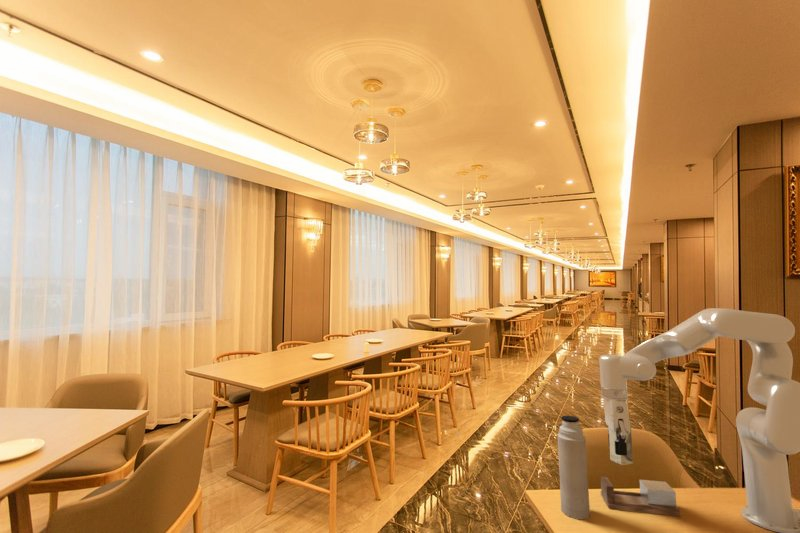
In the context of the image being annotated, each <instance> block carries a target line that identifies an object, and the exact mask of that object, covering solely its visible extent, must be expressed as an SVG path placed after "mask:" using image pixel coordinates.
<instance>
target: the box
mask: <svg viewBox="0 0 800 533" xmlns="http://www.w3.org/2000/svg"><path fill="white" fill-rule="evenodd" d="M629 422H630V421H629ZM616 430H617V431H620V429H616ZM608 434H609V440H608V442H609V441H610V446H609V458H610V460H609V461H612V462H613V463H616V464H619V465H621V466H625V465H632V464H634V458H633V456H634V455H633V454H634V453H633V440H632V439H633V438H632V422H630V433H627V432H626V434H627V436H626V444H627V455H616V453H615V441H616V439H615V433H614V431H613V430H612V429H611V428H610V427H609V433H608ZM617 434H618V436H619V435H620V433H617Z"/></svg>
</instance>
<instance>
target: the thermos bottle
mask: <svg viewBox="0 0 800 533" xmlns="http://www.w3.org/2000/svg"><path fill="white" fill-rule="evenodd" d="M561 420H562V421H561V425H560V426H559V429H558V433H557V434H556V435H557V451H558V455H557V456H558V470H559V472H558V473H559V491H560V492H559V495H560V510H561V512H562V513H563V512H564V513H565V514H566V516H567V515H568V516H567V517H569V516H570V517H569V518H572V517H573V518H572V519H576V518H577V519H576V520H586V519H589V517H590V498H589V497H590V496H589V495H590V494H589V482H588V481H589V480H588V460H587V444H586V443H587V440H586V436H584V431H583V429H582V428H581V427H580V422H579V421H580V418H579V417H577V416H574V415H562V416H561ZM564 513H563V514H564ZM565 514H564V515H565Z"/></svg>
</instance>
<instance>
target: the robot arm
mask: <svg viewBox="0 0 800 533" xmlns="http://www.w3.org/2000/svg"><path fill="white" fill-rule="evenodd" d="M795 333H796V327H795V326H794V324H793V323H792V321H791V320H790V319H788V318H787V317H786V316H784V315H783V316H782V315H779V314H773V313H768V312H767V313H765V312H756V311H749V310H748V311H747V310H738V309H732V308H724V307H723V308H722V307H716V308H715V307H714V308H713V307H711V308H705V309H702V310H701V311H699V312H697V313H695V314H693V315H692V316H690V317H689V318H688V319H686V320H684V321H682V322H681V323H680V324H678V325H676V326H674V327H673V328H670V329H669V330H668V331H666V332H663V333H661V334H659V335H657V336H654V337H653V338H650V339H648V340H646V341H644V342H642V343H640V344H639V345H637V346H635V347H634V348H632V349H630V350H629V351H627V352H626V353H624V354H623V355H618V354H602V355H600V356H599V358H598V360H599V364H598V365H599V376H600V378H599V379H600V393H601V394H600V395H601V398H603V400H604V402H603V403H604V405H603V406H604V407H603V408H604V421H605V423H606V425H607V433H608V434H607V437H608V438H607V439H608V447H610V441H609V427H610V428H611V429H612V430H613V431H614V433H615V439H616V441H615V453H616V455H627V444H626V436H627V434H626V432H627V433H630V415H629V414H630V413H629V409H628V403H627V401H628V398H629V397H628V382H627V379H630V380H637V381H649V380H652V379H653V378H654V377H655V376H656V374H657V367H656V365H655V364H656V363H658V362H661V361H663V360H666V359H671V358H676V357H682V356H683V357H684V356H687V355H690V354H692V353H693V352H695V351H697V350H698V349H700V348H701V347H703V346H705V345H707V344H708V343H710V342H711V341H713V340H715V339H717V338H719V337H721V338H722V337H723V338H729V339H735V340H740V341H741V340H742V341H746V342H747V343H748V345H749V346H750V348H751V351H752V364H751V367H750V368H751V369H750V373H749V379H748V383H747V393H748V395H749V396H750V398H751V399H752V400H753V401H754V402H757V403H759V404H760V405H763V406H765V407H766V408H765V409H763V408H760V407H750V406H749V407H746V408H743V409H741V410H740V411H738V413H737V415H736V418H735V426H736V430H737V434H738V437H739V441H740V445H741V446H740V447H741V452H742V453H741V454H742V462H743V463H742V464H743V472H744V483H745V484H744V485H745V492H746V494H745V495H746V503H747V505H746V506H743V507H742V508H741V510H740V511H741V512H740V513H741V515H742V517H743V518H745V520H747V521H749V522H750V523H752V524H754V525H756V526H757V527H760V528H763V529H766V530H769V531H772V532H777V533H800V509H799V508H798V509H796V508H793V502H792V492H791V484H790V483H791V482H790V476H789V474H790V473H789V465H788V463H789V462H788V459H787V455H789V456H790V455H796V454H797V453H799V452H800V382H799V381H796V380H794V379H792V376H793V375H792V374H793V365H794V357H793V354H792V350H791V348H790V346H789V345H788V342H790V341H791V340H792V339H793V338H794V336H795ZM616 429H620V431H617V430H616ZM617 433H620V435H619V436H618V434H617Z"/></svg>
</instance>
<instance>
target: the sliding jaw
mask: <svg viewBox="0 0 800 533" xmlns="http://www.w3.org/2000/svg"><path fill="white" fill-rule="evenodd" d="M639 493H640V495H641V497H642V498H643V500H644V501H645V502H646V503H647V505H654V506H664V507H673V508H678V507H677V496H676V491H675V489H673V488H672V487H671V485H670V484H668V482H666V481H661V480H660V481H659V480H648V479H639Z"/></svg>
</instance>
